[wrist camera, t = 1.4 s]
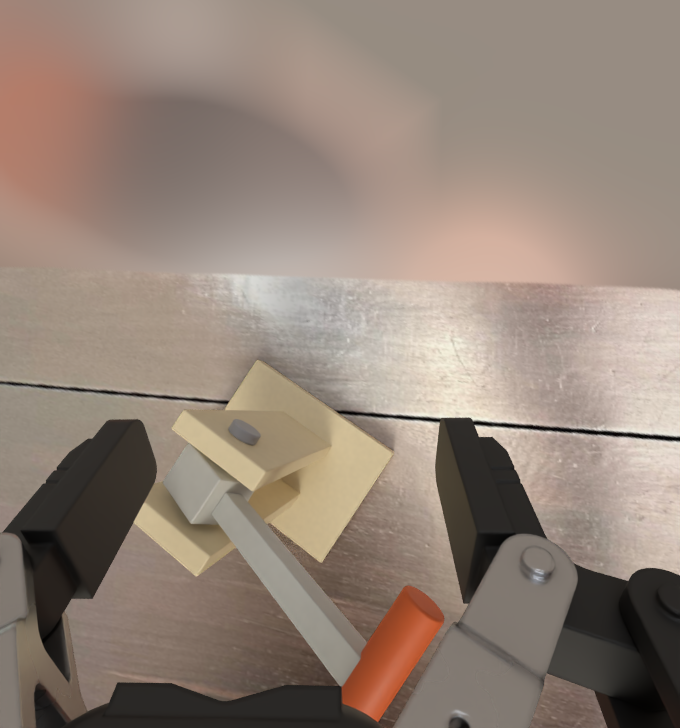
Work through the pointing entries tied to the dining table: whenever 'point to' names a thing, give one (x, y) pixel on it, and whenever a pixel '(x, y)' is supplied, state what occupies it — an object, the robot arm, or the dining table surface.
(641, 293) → the dining table surface
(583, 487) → the dining table surface
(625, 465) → the dining table surface
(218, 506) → the lever
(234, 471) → the bracket
